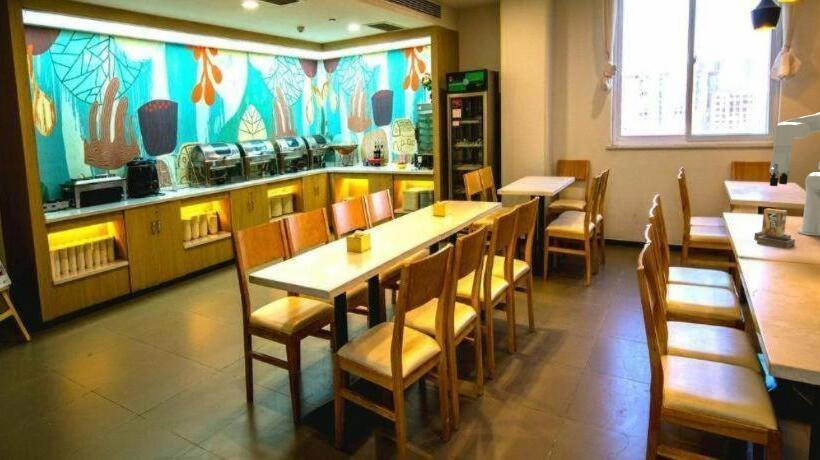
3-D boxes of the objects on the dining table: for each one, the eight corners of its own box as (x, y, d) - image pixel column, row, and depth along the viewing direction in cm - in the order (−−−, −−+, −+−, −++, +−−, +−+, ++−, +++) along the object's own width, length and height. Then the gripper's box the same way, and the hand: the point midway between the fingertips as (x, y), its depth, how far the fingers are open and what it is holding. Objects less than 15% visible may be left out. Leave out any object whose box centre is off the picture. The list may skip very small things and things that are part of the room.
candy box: (783, 241, 272) (787, 210, 269) (779, 242, 270) (783, 211, 267) (764, 237, 280) (767, 208, 276) (760, 239, 277) (763, 209, 274)
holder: (762, 236, 282) (762, 230, 282) (801, 243, 268) (802, 237, 267) (746, 241, 274) (746, 235, 273) (786, 248, 259) (787, 242, 258)
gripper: (782, 148, 273) (778, 182, 277) (765, 150, 264) (761, 185, 267) (799, 149, 267) (795, 184, 271) (782, 151, 258) (778, 187, 261)
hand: (778, 185), depth 269 cm, fingers open, 9 cm apart
